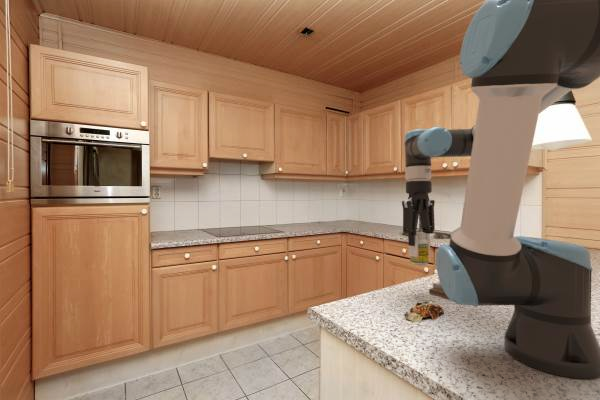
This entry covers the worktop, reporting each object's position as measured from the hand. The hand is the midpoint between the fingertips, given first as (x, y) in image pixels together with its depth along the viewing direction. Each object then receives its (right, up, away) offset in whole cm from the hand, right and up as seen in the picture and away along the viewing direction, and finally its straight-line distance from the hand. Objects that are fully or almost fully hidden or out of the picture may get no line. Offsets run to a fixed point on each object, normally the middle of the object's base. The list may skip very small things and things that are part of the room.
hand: (419, 254), depth 95 cm
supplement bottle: (0, -3, 0) cm, 3 cm away
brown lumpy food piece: (-4, -14, -14) cm, 20 cm away
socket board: (+12, -13, +3) cm, 18 cm away
